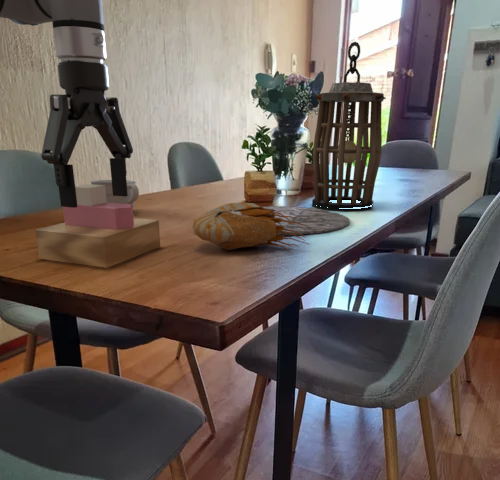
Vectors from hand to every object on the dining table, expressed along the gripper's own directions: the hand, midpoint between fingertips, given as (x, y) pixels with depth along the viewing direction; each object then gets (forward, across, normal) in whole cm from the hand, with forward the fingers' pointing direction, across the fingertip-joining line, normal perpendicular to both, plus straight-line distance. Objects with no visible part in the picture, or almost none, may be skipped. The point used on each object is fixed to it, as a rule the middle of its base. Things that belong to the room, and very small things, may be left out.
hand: (96, 201), depth 88 cm
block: (+9, 0, 0) cm, 9 cm away
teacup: (+10, +35, +22) cm, 42 cm away
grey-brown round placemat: (+9, +43, -18) cm, 47 cm away
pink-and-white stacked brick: (+4, 0, 0) cm, 4 cm away
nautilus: (+9, +14, -23) cm, 29 cm away
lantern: (+9, +70, -27) cm, 76 cm away
